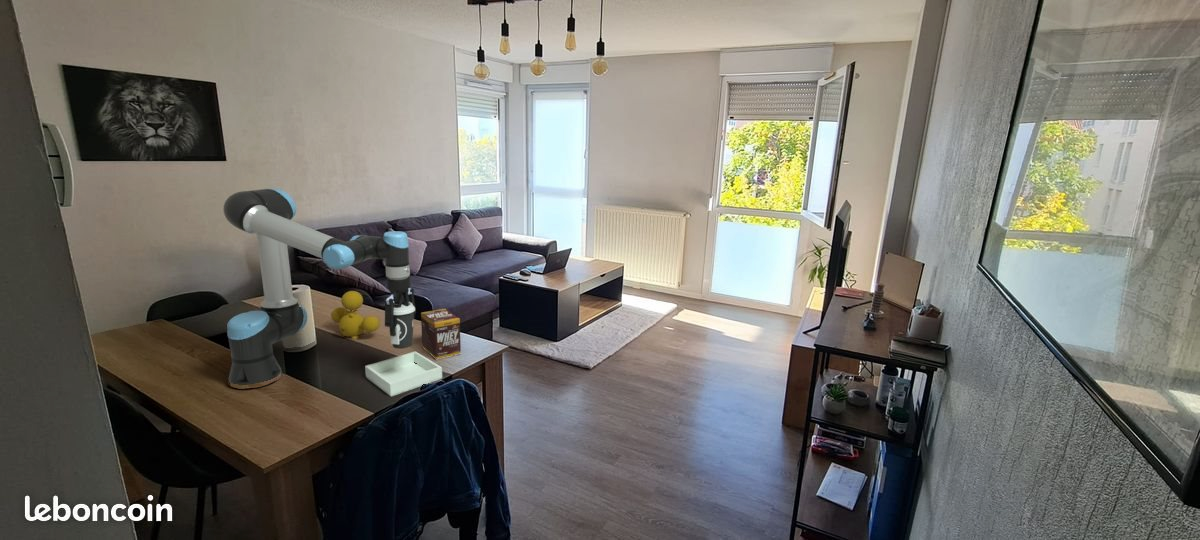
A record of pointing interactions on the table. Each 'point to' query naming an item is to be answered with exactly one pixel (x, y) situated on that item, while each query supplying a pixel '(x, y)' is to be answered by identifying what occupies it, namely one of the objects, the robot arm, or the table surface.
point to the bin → (403, 373)
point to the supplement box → (440, 333)
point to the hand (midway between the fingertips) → (402, 339)
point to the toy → (353, 316)
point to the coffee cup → (405, 325)
